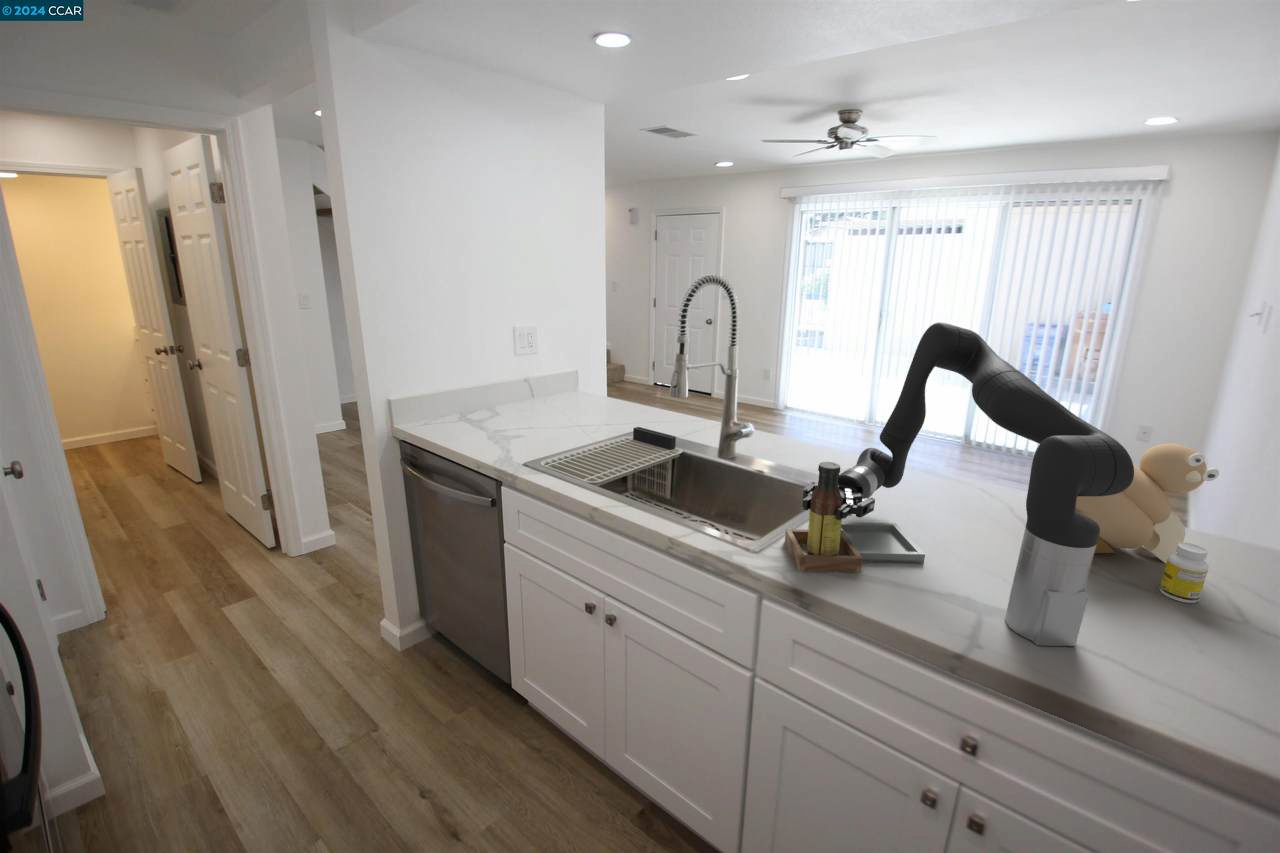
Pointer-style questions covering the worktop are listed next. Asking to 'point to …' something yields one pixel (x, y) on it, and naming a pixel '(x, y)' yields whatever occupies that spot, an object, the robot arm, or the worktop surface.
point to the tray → (882, 543)
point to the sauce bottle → (825, 512)
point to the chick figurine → (1148, 502)
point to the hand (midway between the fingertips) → (821, 510)
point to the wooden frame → (823, 562)
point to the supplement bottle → (1185, 573)
